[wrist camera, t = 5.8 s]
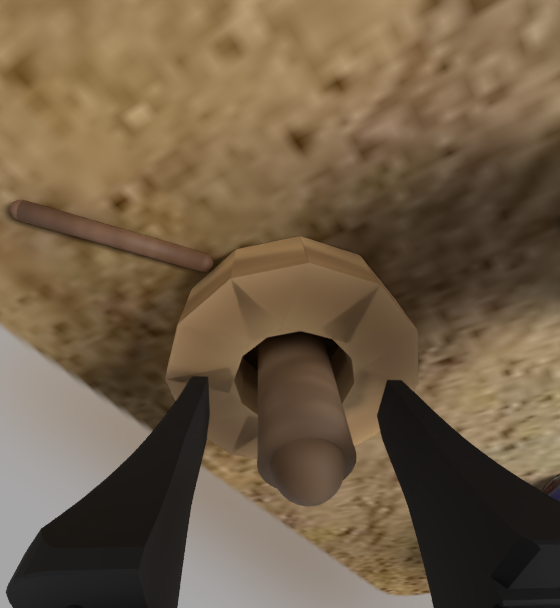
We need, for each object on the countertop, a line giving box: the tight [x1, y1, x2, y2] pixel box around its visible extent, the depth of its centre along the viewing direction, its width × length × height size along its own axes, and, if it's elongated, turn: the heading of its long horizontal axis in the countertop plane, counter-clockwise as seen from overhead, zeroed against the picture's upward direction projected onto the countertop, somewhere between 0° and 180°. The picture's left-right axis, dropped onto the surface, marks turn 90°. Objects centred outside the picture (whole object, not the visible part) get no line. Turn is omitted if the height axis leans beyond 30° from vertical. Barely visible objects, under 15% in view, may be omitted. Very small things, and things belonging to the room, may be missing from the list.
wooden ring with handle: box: [10, 200, 419, 459], centre depth 15 cm, size 18×10×3 cm, turn 71°
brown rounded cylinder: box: [257, 331, 356, 506], centre depth 14 cm, size 3×3×8 cm
